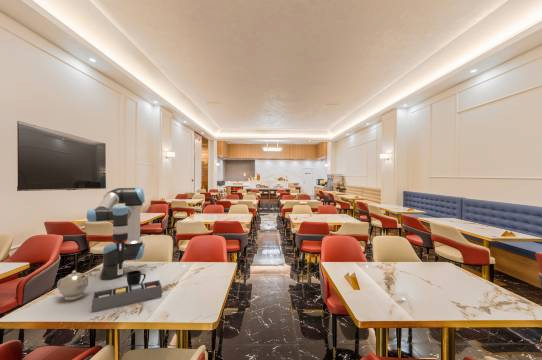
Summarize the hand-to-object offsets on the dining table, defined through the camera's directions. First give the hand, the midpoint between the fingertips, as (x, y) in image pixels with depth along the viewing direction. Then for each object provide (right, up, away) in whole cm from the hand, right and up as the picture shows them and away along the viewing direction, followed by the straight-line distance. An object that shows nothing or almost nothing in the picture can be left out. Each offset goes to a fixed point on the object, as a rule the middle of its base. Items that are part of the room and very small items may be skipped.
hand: (120, 274), depth 143 cm
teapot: (-33, -17, +6) cm, 37 cm away
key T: (0, -13, 0) cm, 13 cm away
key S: (+7, -13, +4) cm, 15 cm away
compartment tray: (+4, -16, +2) cm, 17 cm away
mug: (-2, -17, +21) cm, 27 cm away
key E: (+14, -15, +8) cm, 22 cm away
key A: (-7, -15, -4) cm, 17 cm away
